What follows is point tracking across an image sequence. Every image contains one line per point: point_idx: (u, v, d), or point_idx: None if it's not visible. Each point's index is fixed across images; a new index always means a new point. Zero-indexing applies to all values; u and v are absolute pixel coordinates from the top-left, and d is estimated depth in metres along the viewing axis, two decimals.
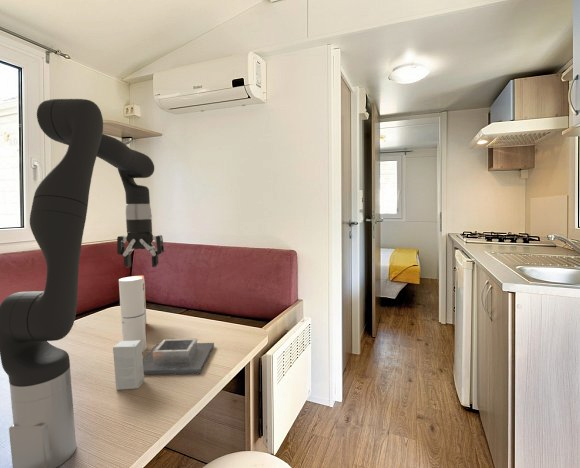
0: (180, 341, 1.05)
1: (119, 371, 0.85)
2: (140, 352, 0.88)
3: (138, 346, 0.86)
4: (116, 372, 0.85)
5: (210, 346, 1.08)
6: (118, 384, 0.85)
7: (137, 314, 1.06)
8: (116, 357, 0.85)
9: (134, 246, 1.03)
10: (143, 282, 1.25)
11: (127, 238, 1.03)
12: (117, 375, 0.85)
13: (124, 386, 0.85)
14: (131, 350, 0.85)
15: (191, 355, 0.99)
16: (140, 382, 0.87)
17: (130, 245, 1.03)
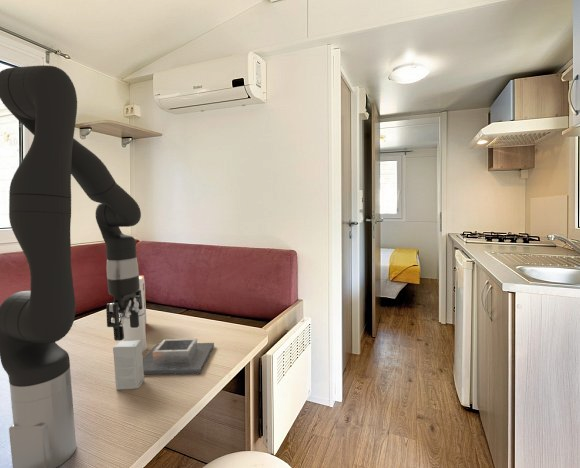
0: (180, 341, 1.05)
1: (119, 371, 0.85)
2: (140, 352, 0.88)
3: (138, 346, 0.86)
4: (116, 372, 0.85)
5: (210, 346, 1.08)
6: (118, 384, 0.85)
7: None
8: (116, 357, 0.85)
9: None
10: (143, 282, 1.25)
11: (122, 302, 0.82)
12: (117, 375, 0.85)
13: (124, 386, 0.85)
14: (131, 350, 0.85)
15: (191, 355, 0.99)
16: (140, 382, 0.87)
17: (127, 309, 0.83)
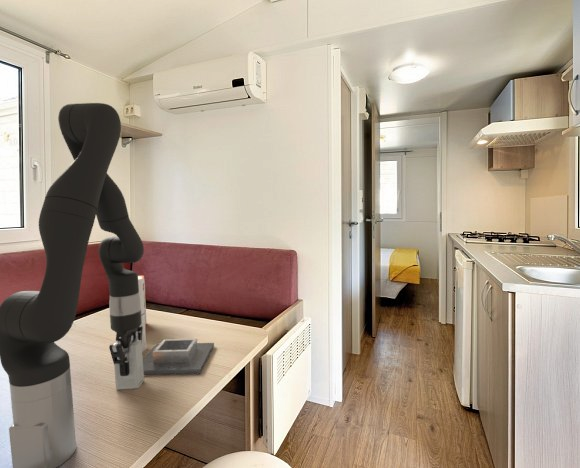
0: (180, 341, 1.05)
1: (119, 371, 0.85)
2: (140, 352, 0.88)
3: (138, 346, 0.86)
4: (116, 372, 0.85)
5: (210, 346, 1.08)
6: (118, 384, 0.85)
7: None
8: None
9: None
10: (143, 282, 1.25)
11: (124, 339, 0.83)
12: (117, 375, 0.85)
13: (124, 386, 0.85)
14: (131, 350, 0.85)
15: (191, 355, 0.99)
16: (140, 382, 0.87)
17: (130, 345, 0.85)
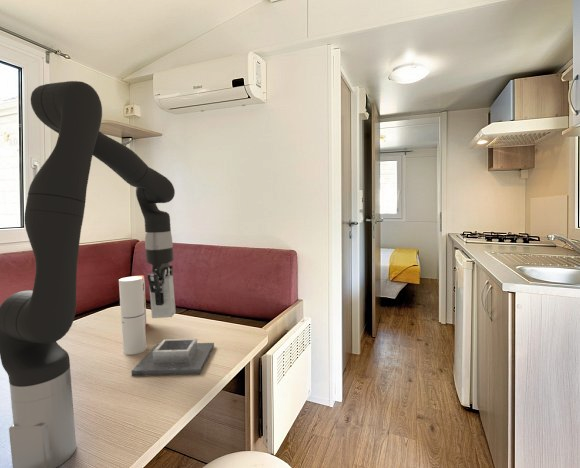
0: (180, 341, 1.05)
1: (154, 301, 0.94)
2: (172, 286, 0.97)
3: (170, 279, 0.96)
4: (152, 302, 0.94)
5: (210, 346, 1.08)
6: (154, 313, 0.95)
7: (137, 314, 1.06)
8: None
9: None
10: (143, 282, 1.25)
11: (159, 271, 0.92)
12: (153, 305, 0.94)
13: (159, 315, 0.95)
14: (165, 282, 0.94)
15: (191, 355, 0.99)
16: (173, 312, 0.97)
17: (164, 277, 0.94)
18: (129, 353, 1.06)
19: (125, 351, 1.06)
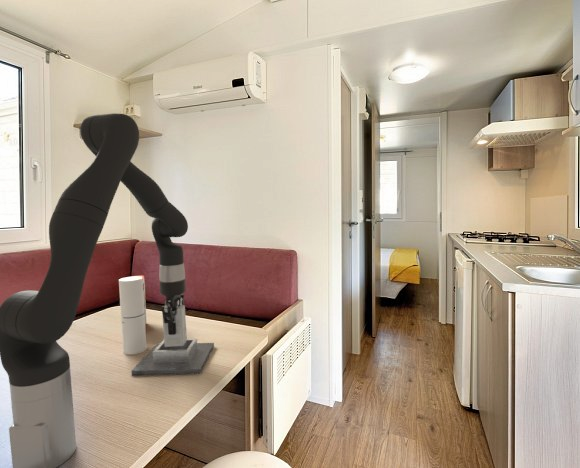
0: None
1: (167, 331, 0.99)
2: (184, 315, 1.01)
3: (183, 310, 1.00)
4: (165, 331, 0.99)
5: (210, 346, 1.08)
6: (166, 342, 0.99)
7: (137, 314, 1.06)
8: None
9: None
10: (143, 282, 1.25)
11: (172, 302, 0.96)
12: (165, 334, 0.99)
13: (171, 344, 0.99)
14: (178, 312, 0.98)
15: (191, 355, 0.99)
16: (184, 341, 1.01)
17: (177, 308, 0.98)
18: (129, 353, 1.06)
19: (125, 351, 1.06)
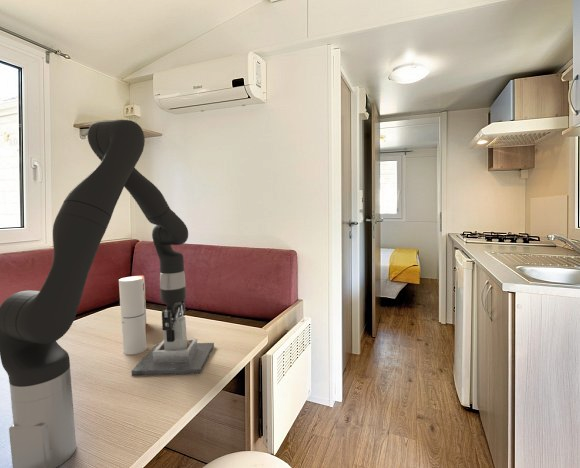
0: None
1: (167, 342, 0.99)
2: (184, 327, 1.01)
3: (183, 322, 1.00)
4: (165, 343, 0.99)
5: (210, 346, 1.08)
6: None
7: (137, 314, 1.06)
8: (165, 330, 0.99)
9: None
10: (143, 282, 1.25)
11: (173, 309, 0.97)
12: (166, 346, 0.99)
13: None
14: (178, 324, 0.98)
15: (191, 355, 0.99)
16: None
17: (177, 315, 0.98)
18: (129, 353, 1.06)
19: (125, 351, 1.06)
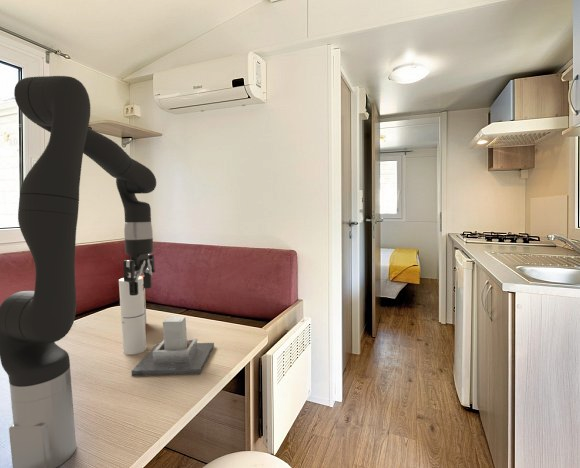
0: None
1: (167, 342, 0.99)
2: (185, 327, 1.02)
3: (183, 322, 1.00)
4: (165, 343, 0.99)
5: (210, 346, 1.08)
6: None
7: (137, 314, 1.06)
8: (165, 330, 0.99)
9: None
10: None
11: (137, 261, 0.91)
12: (166, 346, 0.99)
13: None
14: (178, 324, 0.99)
15: (191, 355, 0.99)
16: None
17: (141, 268, 0.92)
18: (129, 353, 1.06)
19: (125, 351, 1.06)
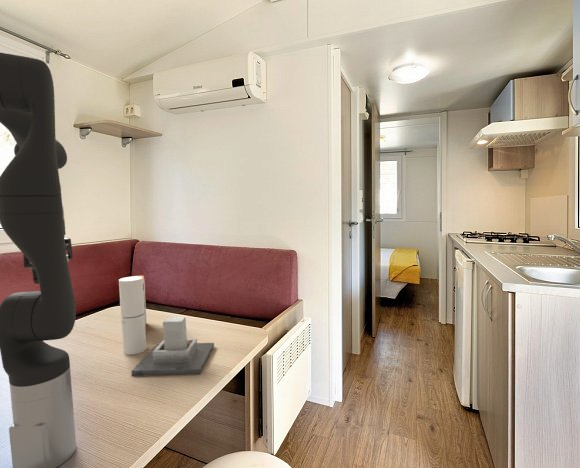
0: None
1: (167, 342, 0.99)
2: (185, 327, 1.02)
3: (183, 322, 1.00)
4: (165, 343, 0.99)
5: (210, 346, 1.08)
6: None
7: (137, 314, 1.06)
8: (165, 330, 0.99)
9: None
10: (143, 282, 1.25)
11: None
12: (166, 346, 0.99)
13: None
14: (178, 324, 0.99)
15: (191, 355, 0.99)
16: None
17: None
18: (129, 353, 1.06)
19: (125, 351, 1.06)
